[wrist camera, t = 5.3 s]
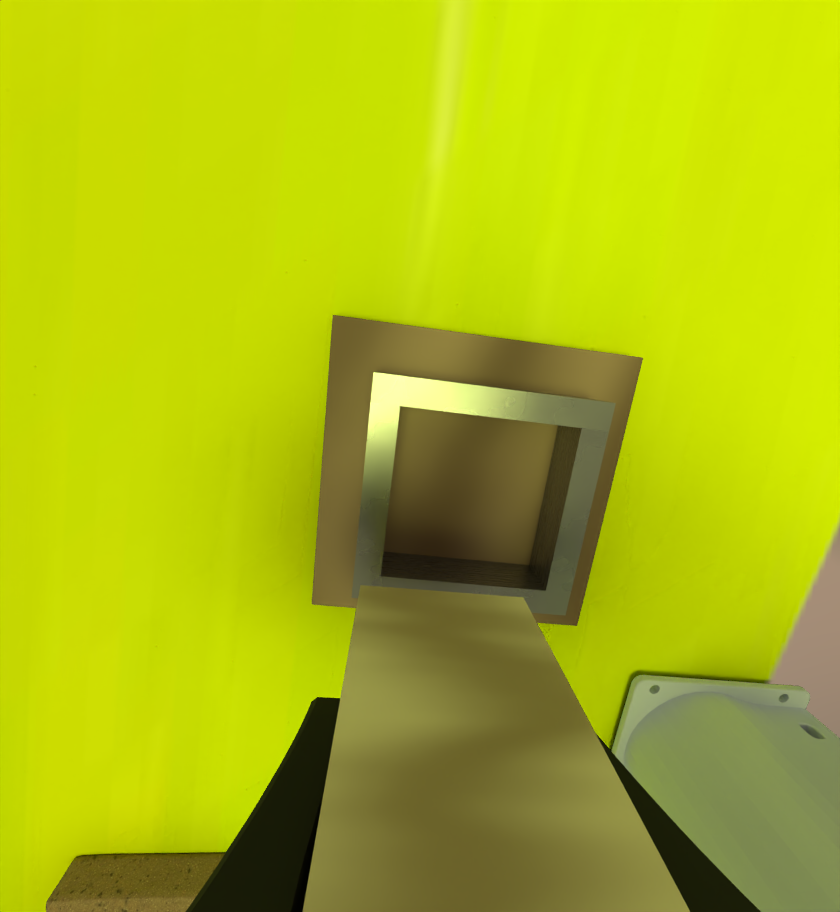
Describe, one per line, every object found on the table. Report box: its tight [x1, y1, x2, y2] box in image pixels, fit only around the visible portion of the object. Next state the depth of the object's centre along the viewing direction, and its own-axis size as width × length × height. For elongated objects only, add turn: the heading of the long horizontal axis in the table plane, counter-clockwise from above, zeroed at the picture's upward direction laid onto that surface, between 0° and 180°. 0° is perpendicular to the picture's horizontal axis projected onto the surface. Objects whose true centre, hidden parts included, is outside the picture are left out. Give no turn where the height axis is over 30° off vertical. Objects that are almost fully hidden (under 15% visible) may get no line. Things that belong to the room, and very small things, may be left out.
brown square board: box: [312, 315, 643, 626], centre depth 17 cm, size 12×12×1 cm
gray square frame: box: [351, 371, 616, 615], centre depth 15 cm, size 8×8×2 cm
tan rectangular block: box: [303, 585, 690, 912], centre depth 7 cm, size 4×4×8 cm
